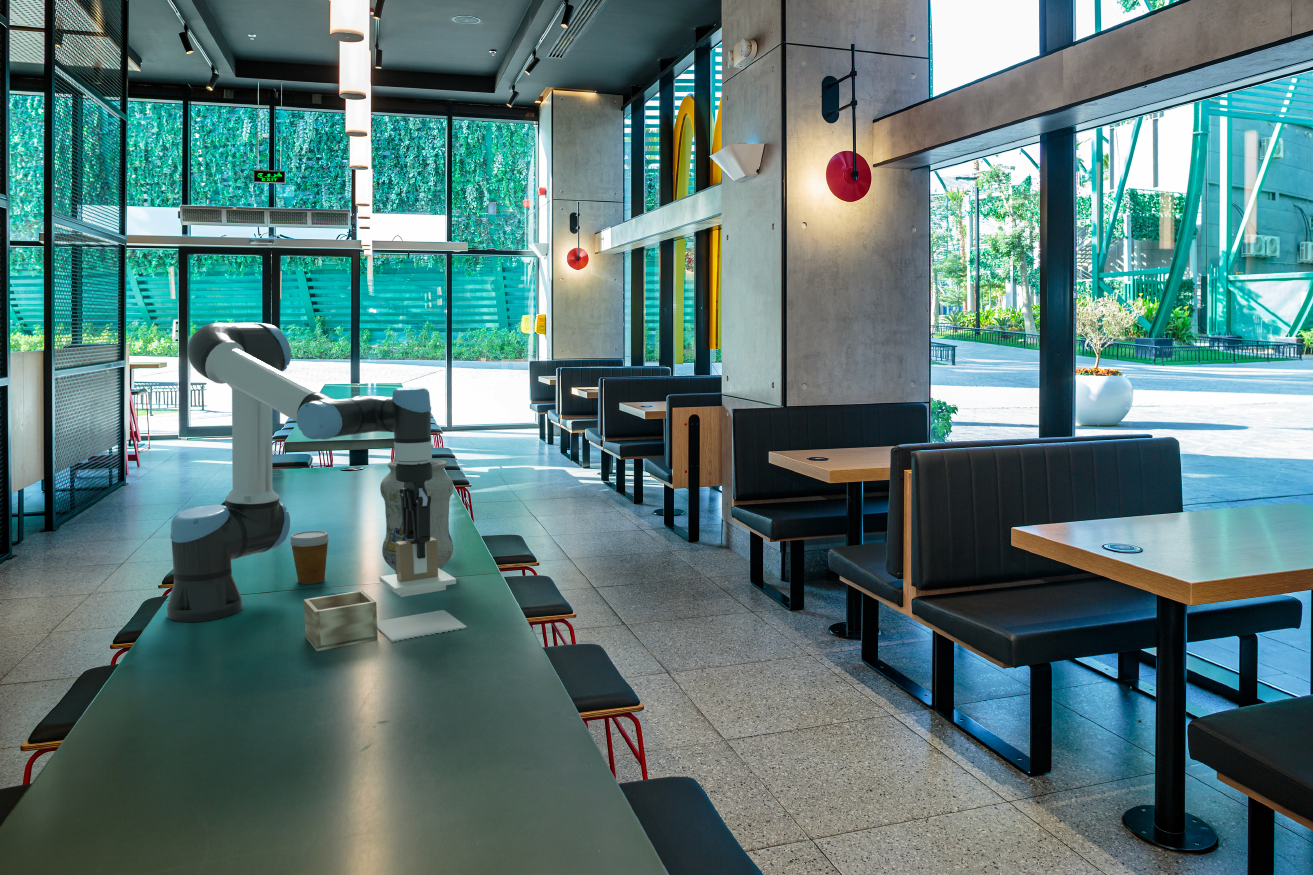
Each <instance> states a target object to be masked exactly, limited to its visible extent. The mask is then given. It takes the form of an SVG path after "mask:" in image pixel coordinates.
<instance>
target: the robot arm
mask: <svg viewBox="0 0 1313 875" xmlns="http://www.w3.org/2000/svg"><path fill="white" fill-rule="evenodd" d="M187 356H188V361H189V362H190V365H191V366H192V367H193V368H194V369H195V371H196V372H198V374H200V375H201V376H203V377H204V378H206V379H208V380H209V381H211V382H214V383H215V384H227V385H228V387H230V389H231V418H232V419H231V426H232V427H231V428H232V429H231V431H232V432H231V436H232V437H231V438H232V439H231V442H232V443H231V444H232V447H231V448H232V450H231V451H232V456H231V457H232V459H231V460H232V462H231V463H232V464H231V465H232V470H231V471H232V472H231V475H232V490H231V492H230V493H228V495H226V496H225V500H224V501H225V502H224V503H225V505H223V504H207V505H203V506H195V507H194V506H193V507H190V508H187V509H185V510H182V511H180V512H178V513H177V514H175V515H174V516H173V518H172V519H171V522H170V535H169V537H170V538H169V539H170V540H171V551H172V552H171V553H172V554H171V555H172V565H173V566H172V567H173V569H172V570H173V586H172V588H171V592H170V595H169V598H168V599H169V600H168V603H167V607H166V611H167V619H169V620H171V621H175V622H180V623H196V622H197V623H198V622H207V621H212V620H213V621H214V620H218V619H223V618H226V617H229V616H233V615H236V614H237V613H239V612H240V611H241V610H242V609H243V599H242V595H241V593H240V591H239V588H238V585H237V584H236V582H235V580H234V576H233V573H232V572H233V571H232V560H236V559H239V558H243V557H247V556H251V555H254V554H259V553H260V554H261V553H265V552H267V551H269V550H271V549H276V548H277V547H279V546H280V545H281V544H283V543H284V541H286V539H287V537H288V535H289V533H290V529H291V528H290V527H291V516H290V513H289V511H287V507H286V505H285V504H284V503H283V502H281V501H280V495H279V494H278V493H276V491H274V489H273V410H275V411H277V412H279V413H280V414H282V415H284V416H286V417H288V418H290V419H291V420H293V421H295V422H296V423H297V427H298V430H300V432H301V434H302V435H303V436H304V437H306V439H310V440H329V439H333V438H338V437H344V436H352V435H359V434H367V433H368V434H369V433H374V432H375V433H376V432H377V433H379V432H382V433H393V440H394V441H393V447H394V448H393V449H394V450H393V451H394V460H395V461H398V463H396V465H395V472H396V480H397V481H400V482H404V488H402V489H400V490H399V492H400V498H401V510H402V526H403V534H406V535H405V536H406V539H408V540H414V541H411V544H412V546H413V573H414V574H419V573H425V572H427V553H426V542H427V541H430V504H431V496H427V490H426V489H425V484H424V482H425V481H428V480H431V479H432V477H433V472H432V463H431V462H430V461H429V460H432V459H433V452H432V449H434V448H435V447H434V446H435V445H434V444H432V433H431V431H432V430H431V429H432V426H431V425H432V422H431V421H432V406H431V398H430V391H429V390H428V389H426V388H425V387H397V388H395V389H393V390H392V396H380V395H379V396H378V395H369V394H365V395H356V396H353V397H352V398H351V397H350V398H339V399H337V398H332V397H330V396H328V395H326V394H324V393H322V392H320V391H319V390H316V389H314V388H313V387H310V385H307V384H305V383H304V382H301V381H299V380H298V379H296V378H294V377H293V376H290V375H288V374H287V373H284V371H286V369H287V368H288V366H289V365H290V363H291V358H292V351H291V346H290V343H289V340H288V338H287V336H286V335H285V334H283V332H282V330H281V329H280V328H278V327H277V326H276V325H273V324H270V323H262V322H213V323H209V324H205V325H203V326H202V327H200V328H199V329H197V330H196V331H194V333H193V334H192V335H191V338H190V339H189V341H188V344H187Z"/></svg>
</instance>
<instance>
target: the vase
mask: <svg viewBox="0 0 1313 875" xmlns="http://www.w3.org/2000/svg"><path fill="white" fill-rule="evenodd" d="M429 461H430V462H431V463H432V472H433V477H432V479H431V480H428V481H425V482H424V484H425V489H426V490H427V496H431V504H430V537H433V538H435V539H436V540H437V554H438V568H439V569H441V570H442V568H444V567H445V566H446V565H447V564H448V563H449V562H450V560H451V558H452V556H453V552H454V544H453V539H452V536H451V534H450V528H449V527H450V526H449V525H450V523H449V519H450V501H451V498H452V495H453V492H454V482H453V479H452V477H451V476H450V475H449V474H448V473H447V472H446V471H445V470H444V468H446V467H447V465H448V463H447V461H446V460H444V459H443V460H442V459H430V460H429ZM396 463H398V461H396V460H395V461H390V462H388V463H387V467H388V469H389V470H390V472H389V473H388V474H386V476H384V477H383V479H382V480H381V483H380V488H379V490H380V495H381V497H382V498H383V502H384V506H385V508H384V509H385V511H384V513H385V523H386V525H385V526H386V528H385V530H386V531H385V538H384V540H383V543H382V548H381V551H382V557H383V559H384V562H385V563H386V564H387V565H388V567H390V568H391V569H392V570H394V572H395V573H394V574H397V572H396V544H395V542H398V541H406V540H408V539H406V536H405V535H406V534H403V526H402V510H401V498H400V492H399V490H400V489H402V488H404V482H400V481H397V480H396V472H395V465H396Z"/></svg>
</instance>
